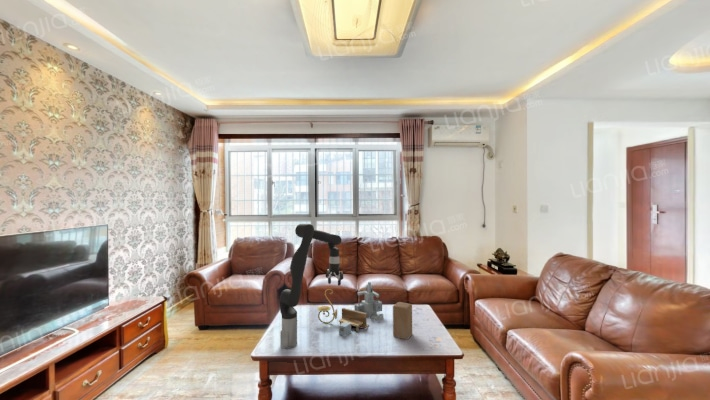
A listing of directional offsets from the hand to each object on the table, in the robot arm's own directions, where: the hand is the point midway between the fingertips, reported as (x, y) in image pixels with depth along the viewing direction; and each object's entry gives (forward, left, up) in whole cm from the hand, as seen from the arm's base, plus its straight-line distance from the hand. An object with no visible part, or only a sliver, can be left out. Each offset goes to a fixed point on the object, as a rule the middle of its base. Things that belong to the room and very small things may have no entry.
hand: (334, 284), depth 209 cm
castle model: (+20, -16, -27) cm, 38 cm away
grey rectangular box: (-12, -17, -27) cm, 34 cm away
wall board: (+1, -15, -27) cm, 31 cm away
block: (+5, -51, -27) cm, 58 cm away
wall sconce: (-6, +3, -27) cm, 28 cm away
